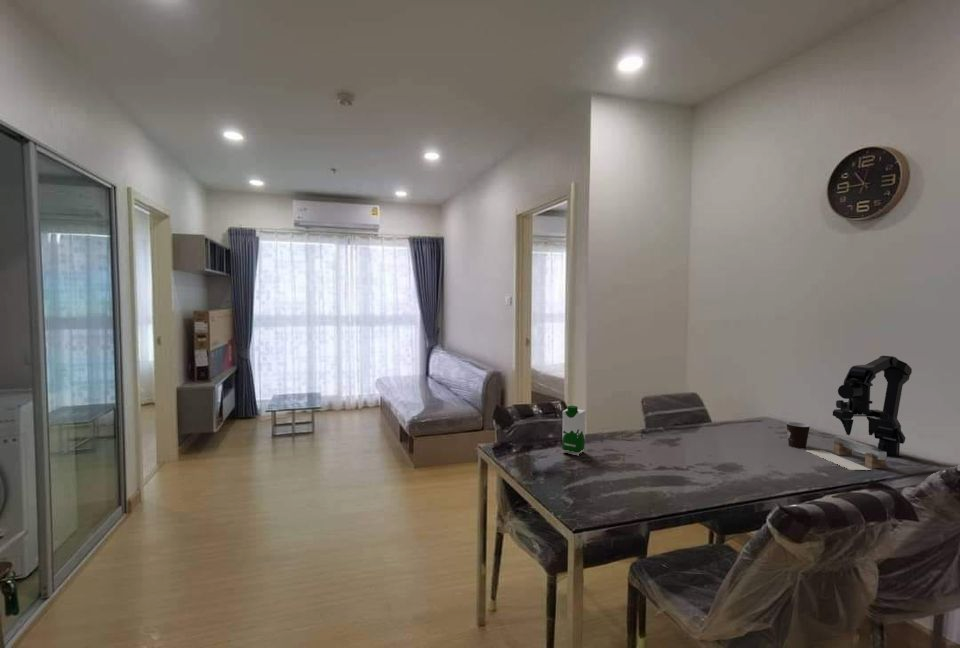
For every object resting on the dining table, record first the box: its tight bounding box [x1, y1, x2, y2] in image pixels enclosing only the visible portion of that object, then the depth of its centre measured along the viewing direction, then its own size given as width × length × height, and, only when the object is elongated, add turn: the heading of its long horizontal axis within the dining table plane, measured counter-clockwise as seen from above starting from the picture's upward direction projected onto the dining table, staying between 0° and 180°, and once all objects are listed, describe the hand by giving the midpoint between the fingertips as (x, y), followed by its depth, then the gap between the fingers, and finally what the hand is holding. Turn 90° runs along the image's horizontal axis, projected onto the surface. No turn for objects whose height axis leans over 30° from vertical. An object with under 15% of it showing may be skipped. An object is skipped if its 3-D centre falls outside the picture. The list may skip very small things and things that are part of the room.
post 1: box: [832, 440, 853, 456], centre depth 196 cm, size 6×3×5 cm, turn 91°
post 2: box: [864, 453, 887, 469], centre depth 180 cm, size 6×3×5 cm, turn 91°
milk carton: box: [561, 405, 587, 452], centre depth 192 cm, size 9×9×20 cm
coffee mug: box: [786, 421, 811, 449], centre depth 208 cm, size 12×9×10 cm
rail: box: [833, 435, 888, 461], centre depth 188 cm, size 3×22×3 cm, turn 1°
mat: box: [805, 449, 872, 472], centre depth 188 cm, size 8×24×1 cm, turn 1°
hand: (859, 435), depth 188 cm, fingers open, 9 cm apart
